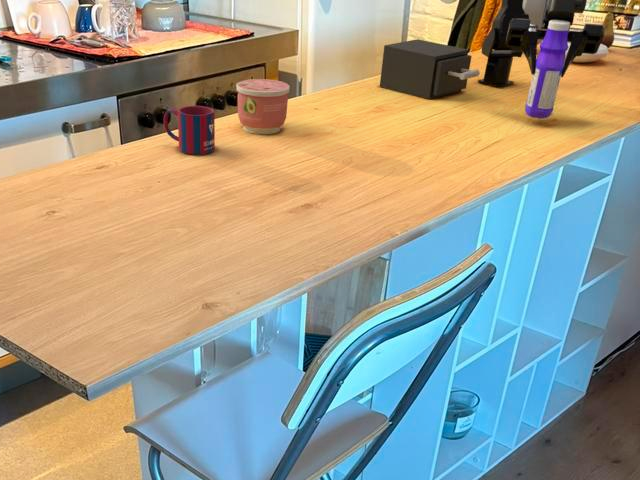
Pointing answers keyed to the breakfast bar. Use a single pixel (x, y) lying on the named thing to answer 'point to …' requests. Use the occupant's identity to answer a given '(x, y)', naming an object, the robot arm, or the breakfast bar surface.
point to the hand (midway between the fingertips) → (547, 74)
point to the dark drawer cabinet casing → (414, 66)
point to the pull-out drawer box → (452, 74)
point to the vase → (590, 57)
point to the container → (262, 105)
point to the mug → (194, 129)
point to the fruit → (608, 30)
